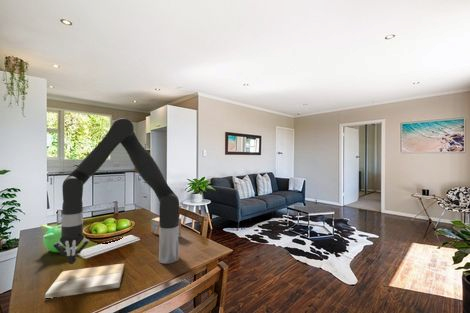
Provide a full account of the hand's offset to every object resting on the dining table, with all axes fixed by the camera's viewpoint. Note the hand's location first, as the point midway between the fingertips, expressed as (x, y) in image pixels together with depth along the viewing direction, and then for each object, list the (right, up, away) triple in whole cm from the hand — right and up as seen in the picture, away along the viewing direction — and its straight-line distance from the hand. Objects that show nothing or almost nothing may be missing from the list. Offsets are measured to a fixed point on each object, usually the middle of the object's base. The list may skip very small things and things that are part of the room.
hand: (71, 263), depth 96 cm
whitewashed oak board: (+11, -6, -7) cm, 14 cm away
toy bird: (-24, -5, +25) cm, 35 cm away
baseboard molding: (0, -6, +31) cm, 32 cm away
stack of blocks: (+24, -6, +51) cm, 57 cm away
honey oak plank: (+8, -6, +1) cm, 10 cm away
